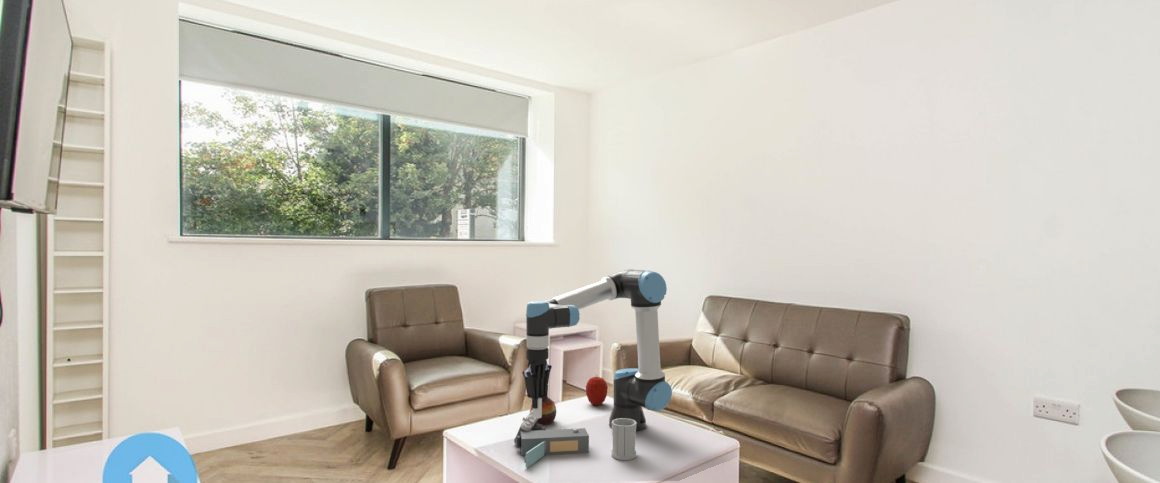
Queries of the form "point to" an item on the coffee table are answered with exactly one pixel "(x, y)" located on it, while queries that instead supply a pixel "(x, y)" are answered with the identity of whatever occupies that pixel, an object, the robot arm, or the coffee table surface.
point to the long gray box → (555, 441)
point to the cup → (623, 438)
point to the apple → (596, 390)
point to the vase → (546, 411)
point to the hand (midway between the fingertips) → (537, 417)
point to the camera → (529, 425)
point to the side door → (535, 453)
